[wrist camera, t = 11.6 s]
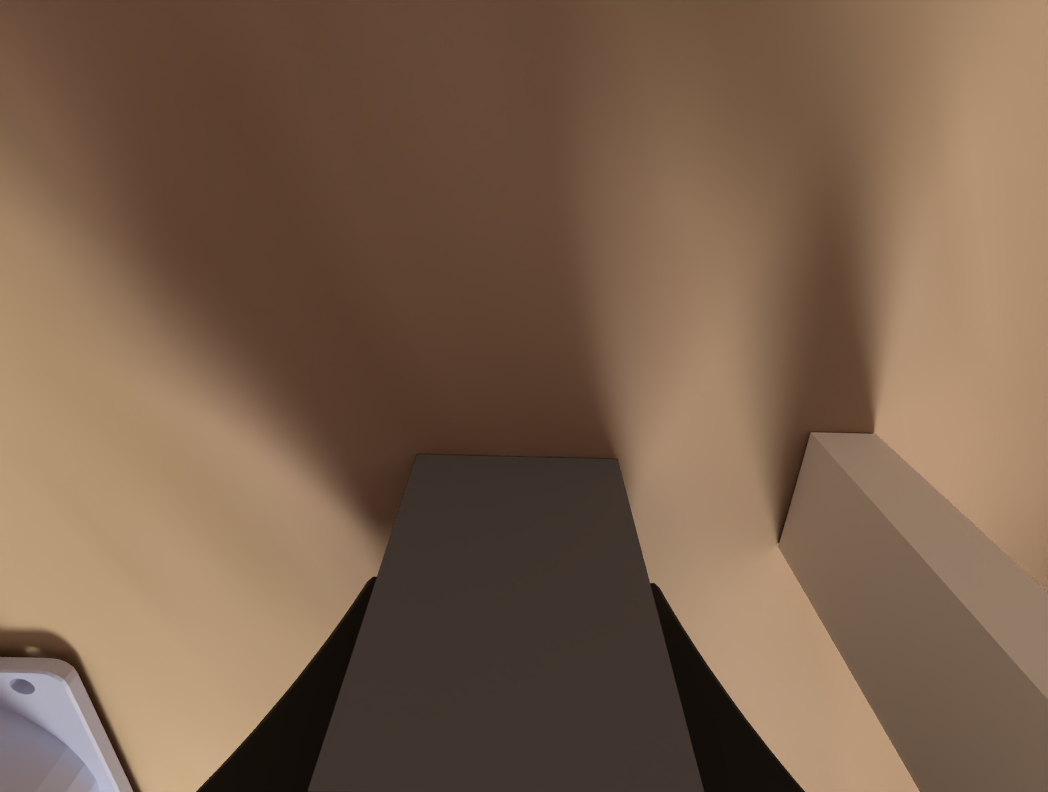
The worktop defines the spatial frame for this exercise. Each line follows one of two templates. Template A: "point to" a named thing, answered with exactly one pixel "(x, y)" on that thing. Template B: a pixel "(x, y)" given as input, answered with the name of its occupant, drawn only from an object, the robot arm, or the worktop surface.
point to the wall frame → (923, 617)
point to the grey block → (510, 642)
